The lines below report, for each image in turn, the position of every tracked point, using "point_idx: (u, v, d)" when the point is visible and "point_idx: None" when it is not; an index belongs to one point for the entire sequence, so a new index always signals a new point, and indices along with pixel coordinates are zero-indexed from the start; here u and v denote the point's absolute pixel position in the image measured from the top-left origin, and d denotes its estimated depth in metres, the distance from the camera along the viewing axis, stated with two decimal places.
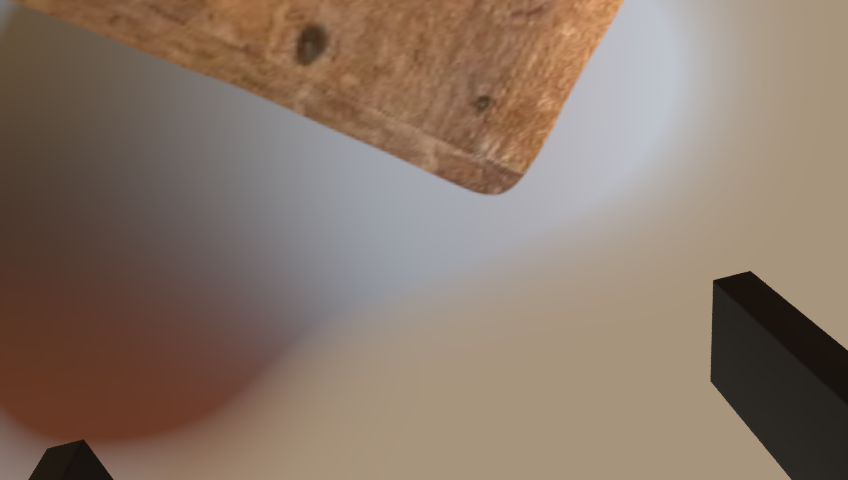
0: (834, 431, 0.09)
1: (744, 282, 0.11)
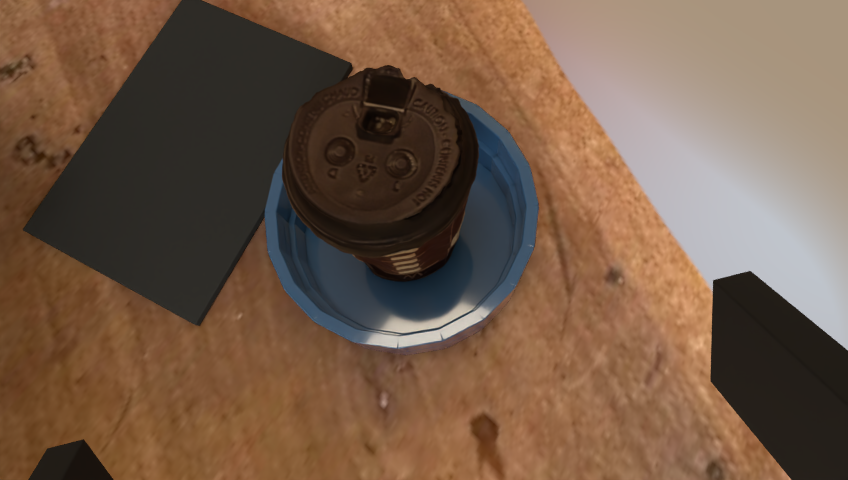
0: (834, 431, 0.09)
1: (744, 282, 0.11)
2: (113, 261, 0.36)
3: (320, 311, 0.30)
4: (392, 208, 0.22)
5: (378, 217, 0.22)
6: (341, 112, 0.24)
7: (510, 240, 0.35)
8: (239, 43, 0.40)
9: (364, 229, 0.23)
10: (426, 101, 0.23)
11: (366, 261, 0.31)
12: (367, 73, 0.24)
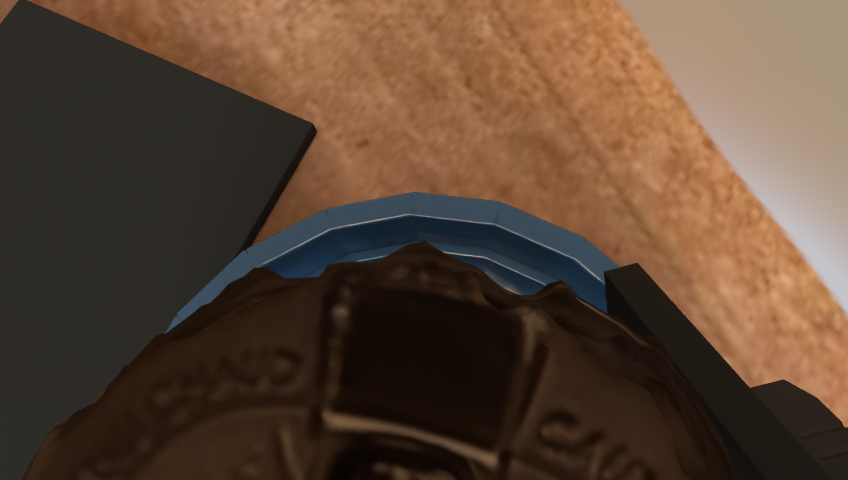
0: None
1: (629, 273, 0.12)
2: None
3: None
4: None
5: None
6: (227, 462, 0.06)
7: None
8: (109, 87, 0.22)
9: None
10: (596, 427, 0.05)
11: None
12: (340, 280, 0.06)
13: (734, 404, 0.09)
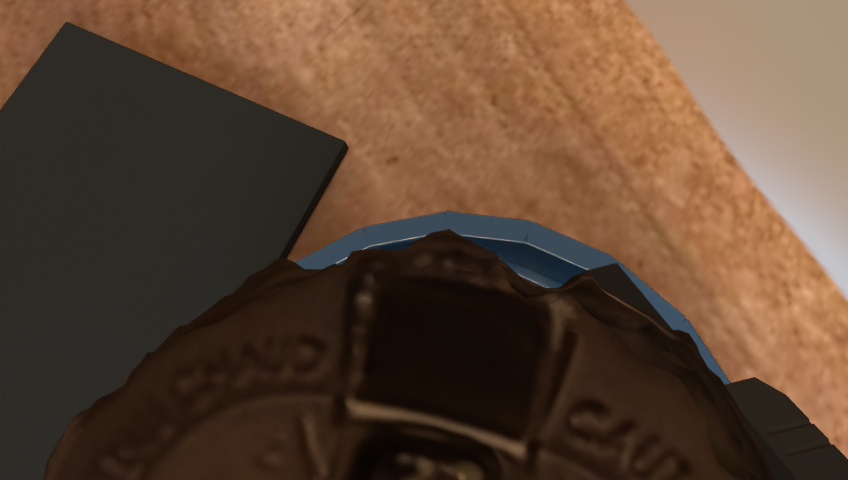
0: None
1: (608, 273, 0.12)
2: None
3: None
4: None
5: None
6: (249, 449, 0.05)
7: None
8: (150, 106, 0.23)
9: None
10: (628, 416, 0.05)
11: None
12: (364, 267, 0.06)
13: None
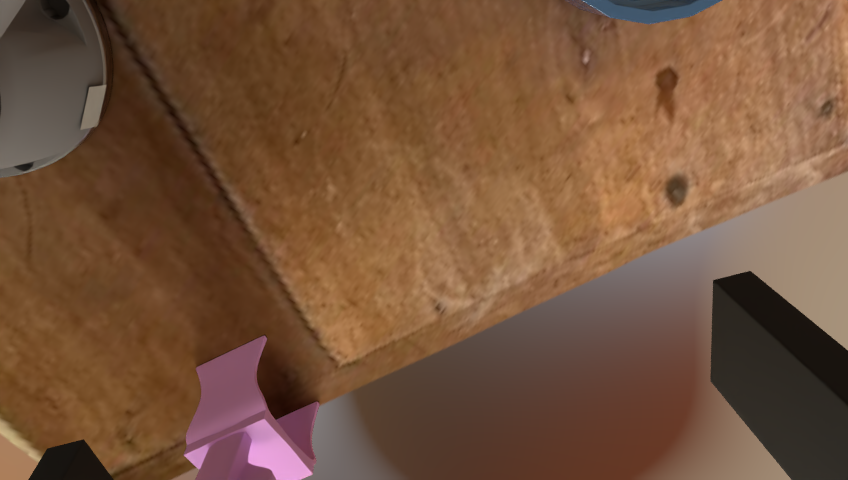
0: (834, 431, 0.09)
1: (744, 282, 0.11)
2: None
3: None
4: None
5: None
6: None
7: None
8: None
9: None
10: None
11: None
12: None
13: None
